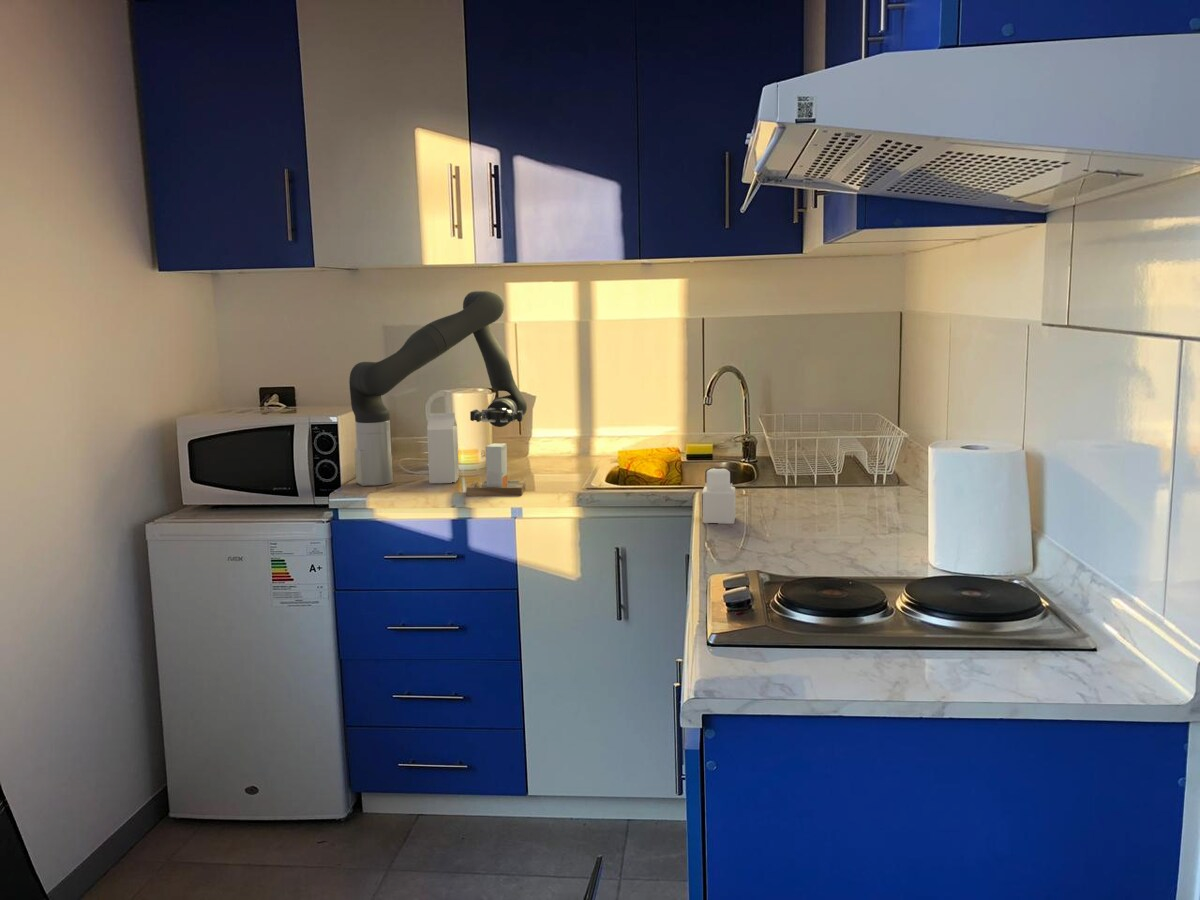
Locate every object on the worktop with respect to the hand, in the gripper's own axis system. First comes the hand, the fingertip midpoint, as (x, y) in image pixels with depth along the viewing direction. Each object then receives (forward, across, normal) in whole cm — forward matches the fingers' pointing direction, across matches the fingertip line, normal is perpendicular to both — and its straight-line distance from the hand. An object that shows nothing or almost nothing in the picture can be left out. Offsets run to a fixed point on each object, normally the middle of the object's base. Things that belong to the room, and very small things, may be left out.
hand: (493, 418), depth 285 cm
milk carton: (-2, -14, +18) cm, 23 cm away
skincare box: (+14, +3, +18) cm, 23 cm away
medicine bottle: (+49, +58, +18) cm, 78 cm away
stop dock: (+10, +3, +18) cm, 20 cm away
